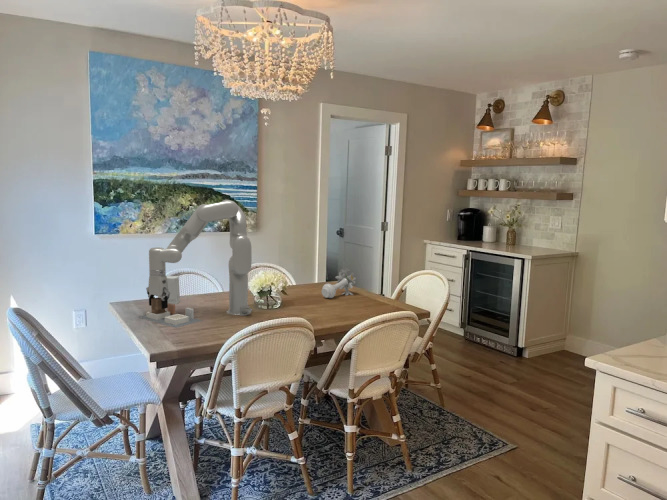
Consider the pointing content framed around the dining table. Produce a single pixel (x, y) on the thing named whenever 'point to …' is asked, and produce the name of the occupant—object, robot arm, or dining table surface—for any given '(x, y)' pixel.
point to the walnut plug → (157, 306)
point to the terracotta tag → (171, 308)
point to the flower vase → (339, 284)
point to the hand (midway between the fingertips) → (158, 306)
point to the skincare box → (173, 289)
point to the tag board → (169, 319)
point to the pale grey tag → (190, 313)
